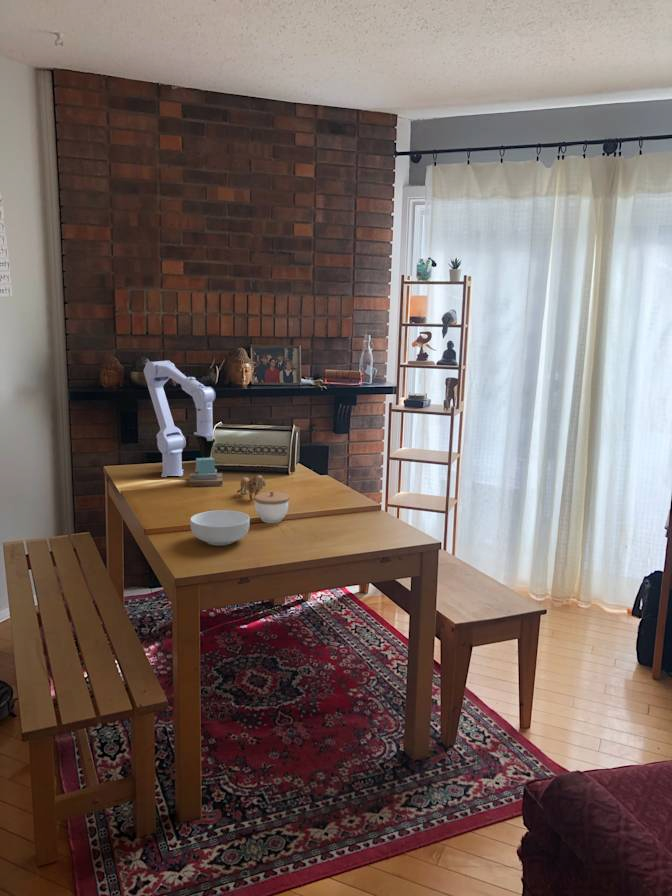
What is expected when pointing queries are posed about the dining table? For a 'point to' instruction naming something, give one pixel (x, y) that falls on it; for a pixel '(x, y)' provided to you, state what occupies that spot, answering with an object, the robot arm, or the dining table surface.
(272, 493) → the lidded jar
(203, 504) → the dining table surface
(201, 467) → the teal brick
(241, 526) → the cereal bowl
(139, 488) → the dining table surface
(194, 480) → the tower base
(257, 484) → the lion figurine
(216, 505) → the dining table surface
